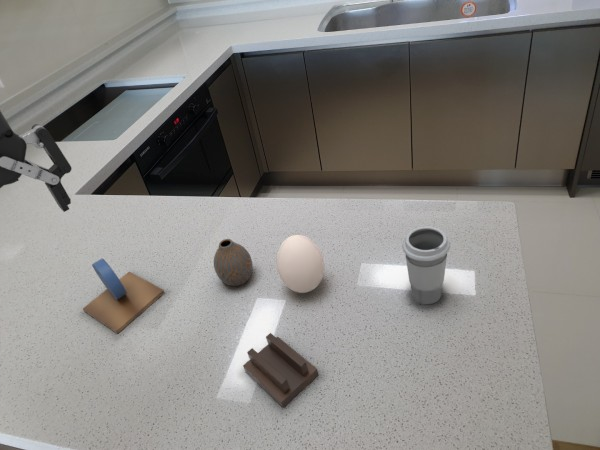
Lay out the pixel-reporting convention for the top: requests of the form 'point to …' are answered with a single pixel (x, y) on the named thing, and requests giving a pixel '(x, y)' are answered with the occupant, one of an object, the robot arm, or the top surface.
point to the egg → (300, 264)
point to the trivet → (124, 303)
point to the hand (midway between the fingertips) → (31, 226)
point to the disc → (109, 279)
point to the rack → (280, 370)
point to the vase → (232, 263)
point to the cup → (426, 262)
